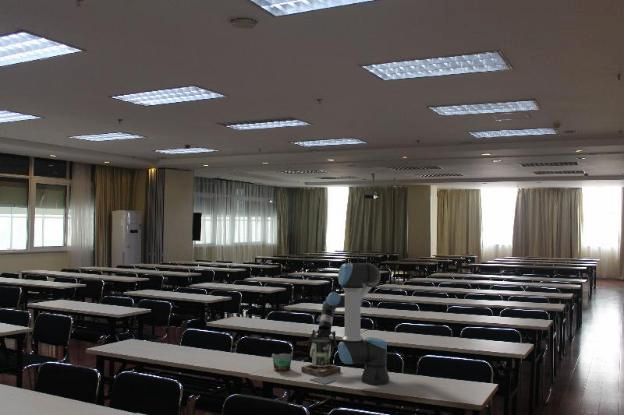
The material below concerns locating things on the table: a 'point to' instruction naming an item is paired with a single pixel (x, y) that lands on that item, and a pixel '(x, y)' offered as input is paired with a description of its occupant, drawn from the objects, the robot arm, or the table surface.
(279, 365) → the food container
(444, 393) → the table surface
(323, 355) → the coffee can
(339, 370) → the wooden tray
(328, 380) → the mat
